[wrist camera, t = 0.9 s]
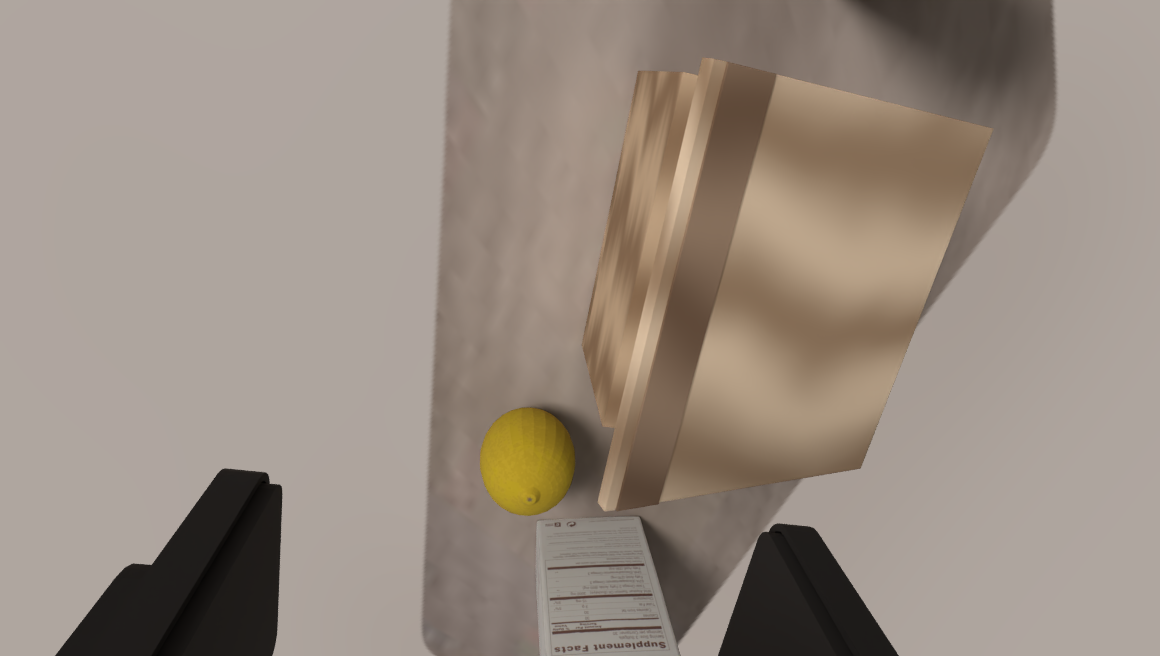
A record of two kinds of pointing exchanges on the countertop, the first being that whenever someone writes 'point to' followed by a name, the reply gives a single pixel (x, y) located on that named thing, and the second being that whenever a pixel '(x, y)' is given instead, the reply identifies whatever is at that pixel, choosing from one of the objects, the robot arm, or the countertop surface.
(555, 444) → the lemon
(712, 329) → the lid flap
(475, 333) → the countertop surface
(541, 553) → the supplement box
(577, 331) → the countertop surface
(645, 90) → the light brown boxy piece
